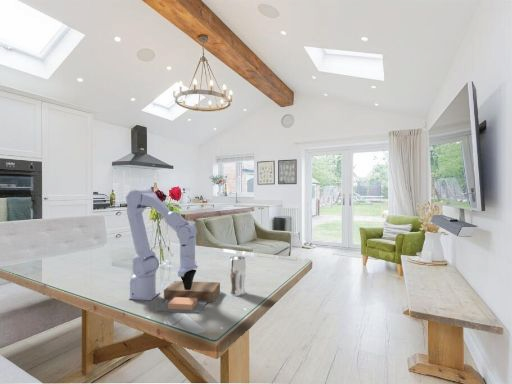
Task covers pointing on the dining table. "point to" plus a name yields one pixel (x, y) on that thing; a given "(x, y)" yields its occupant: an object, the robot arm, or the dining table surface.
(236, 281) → the beer glass
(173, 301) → the tile
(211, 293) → the brown wooden block
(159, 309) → the mat
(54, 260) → the dining table surface
